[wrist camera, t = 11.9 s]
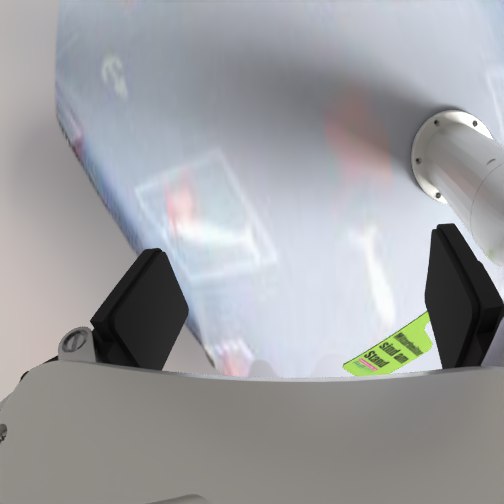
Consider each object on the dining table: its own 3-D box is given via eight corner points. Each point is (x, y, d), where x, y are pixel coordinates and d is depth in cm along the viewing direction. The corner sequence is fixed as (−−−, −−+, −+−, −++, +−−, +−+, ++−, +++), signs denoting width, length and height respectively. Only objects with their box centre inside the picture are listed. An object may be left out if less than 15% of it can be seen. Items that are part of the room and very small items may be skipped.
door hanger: (369, 382, 61) (469, 320, 47) (369, 384, 60) (470, 322, 47) (341, 365, 59) (447, 294, 45) (341, 366, 58) (448, 296, 45)
